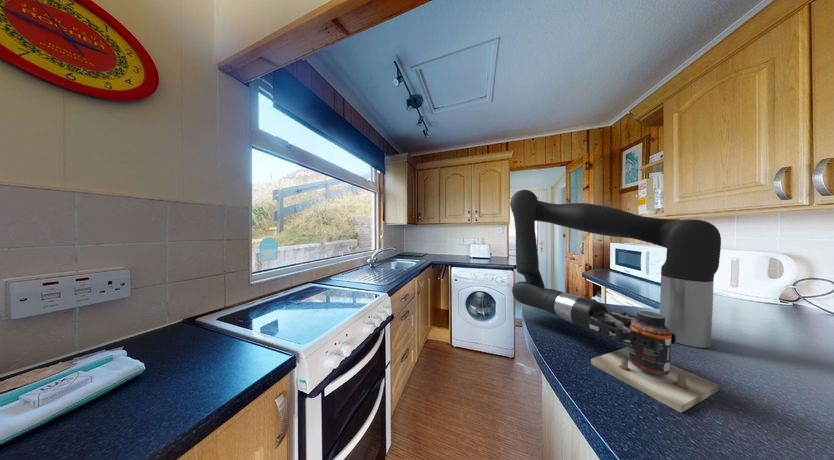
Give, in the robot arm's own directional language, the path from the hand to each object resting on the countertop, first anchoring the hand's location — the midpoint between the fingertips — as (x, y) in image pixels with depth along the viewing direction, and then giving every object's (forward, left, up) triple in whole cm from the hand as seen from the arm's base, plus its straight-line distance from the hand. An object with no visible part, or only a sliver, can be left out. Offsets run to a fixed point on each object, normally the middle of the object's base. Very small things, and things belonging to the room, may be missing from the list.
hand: (666, 342), depth 44 cm
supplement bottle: (0, -3, -7) cm, 7 cm away
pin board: (0, -2, -8) cm, 9 cm away
